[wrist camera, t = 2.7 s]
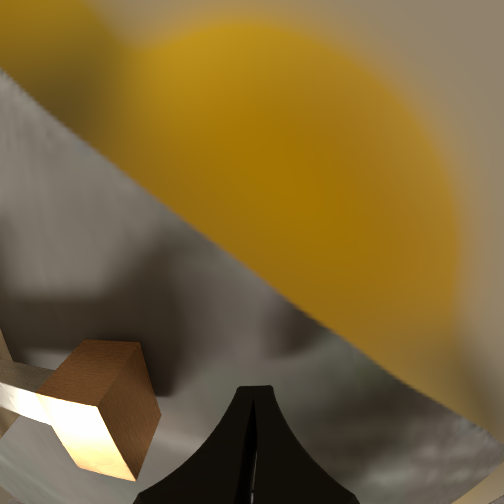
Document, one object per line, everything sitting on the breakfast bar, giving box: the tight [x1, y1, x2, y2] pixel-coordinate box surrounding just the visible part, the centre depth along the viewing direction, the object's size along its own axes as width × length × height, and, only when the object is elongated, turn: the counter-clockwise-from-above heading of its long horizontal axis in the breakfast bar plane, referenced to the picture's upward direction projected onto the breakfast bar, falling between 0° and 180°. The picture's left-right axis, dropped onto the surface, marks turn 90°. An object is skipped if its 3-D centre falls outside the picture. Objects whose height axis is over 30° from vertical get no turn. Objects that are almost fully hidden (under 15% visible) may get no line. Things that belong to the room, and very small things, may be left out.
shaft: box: [0, 339, 161, 481], centre depth 11 cm, size 16×4×4 cm, turn 94°
